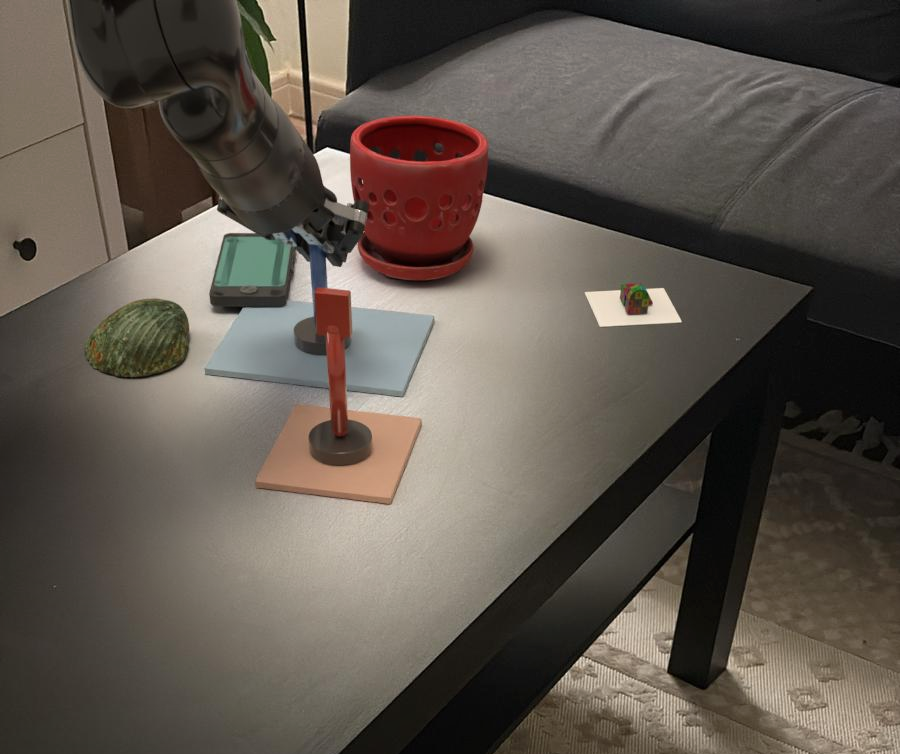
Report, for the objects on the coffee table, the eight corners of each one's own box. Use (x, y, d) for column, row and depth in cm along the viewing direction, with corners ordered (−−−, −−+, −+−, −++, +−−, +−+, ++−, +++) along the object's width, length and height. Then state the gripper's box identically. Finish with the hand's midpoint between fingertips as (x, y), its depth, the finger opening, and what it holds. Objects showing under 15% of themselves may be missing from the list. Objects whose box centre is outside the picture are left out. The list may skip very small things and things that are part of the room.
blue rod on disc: (338, 359, 115) (330, 208, 105) (285, 349, 116) (272, 199, 106) (360, 333, 118) (354, 184, 108) (308, 323, 119) (297, 175, 109)
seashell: (59, 297, 114) (162, 270, 118) (67, 339, 117) (167, 311, 121) (107, 353, 109) (213, 323, 113) (114, 395, 112) (216, 364, 116)
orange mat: (255, 487, 102) (254, 481, 101) (296, 409, 110) (295, 403, 109) (390, 504, 101) (390, 498, 100) (421, 424, 109) (421, 418, 108)
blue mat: (204, 374, 114) (204, 368, 113) (250, 301, 123) (250, 295, 123) (402, 397, 112) (402, 390, 111) (434, 321, 121) (434, 315, 120)
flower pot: (457, 301, 124) (459, 172, 115) (333, 277, 127) (326, 149, 118) (501, 246, 132) (507, 122, 123) (384, 224, 135) (381, 102, 126)
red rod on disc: (301, 462, 103) (288, 303, 94) (318, 428, 107) (307, 271, 97) (364, 469, 103) (358, 310, 93) (379, 435, 106) (374, 278, 96)
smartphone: (208, 294, 120) (224, 230, 130) (209, 307, 121) (225, 243, 131) (287, 294, 120) (296, 231, 131) (288, 307, 121) (297, 243, 132)
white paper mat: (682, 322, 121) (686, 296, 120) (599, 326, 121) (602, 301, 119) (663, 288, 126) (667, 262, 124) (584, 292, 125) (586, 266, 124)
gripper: (352, 122, 94) (411, 223, 111) (184, 97, 97) (265, 199, 114) (328, 223, 95) (390, 308, 112) (161, 195, 98) (246, 283, 115)
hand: (327, 253), depth 113 cm, fingers closed
